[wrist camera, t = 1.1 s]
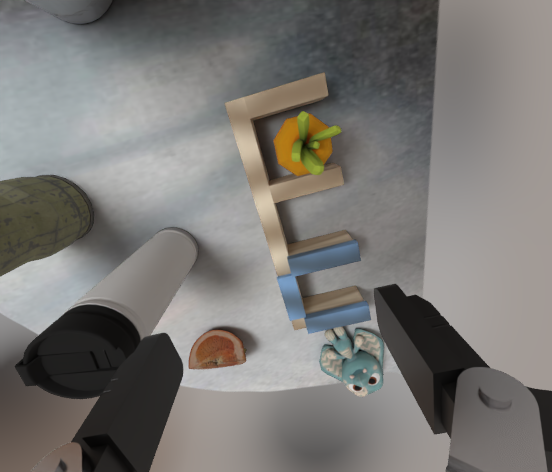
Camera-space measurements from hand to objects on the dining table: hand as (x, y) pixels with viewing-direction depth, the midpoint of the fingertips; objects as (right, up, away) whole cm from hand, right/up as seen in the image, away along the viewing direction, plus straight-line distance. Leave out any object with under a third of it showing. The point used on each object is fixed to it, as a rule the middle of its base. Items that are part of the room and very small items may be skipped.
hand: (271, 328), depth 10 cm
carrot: (+2, +15, +21) cm, 26 cm away
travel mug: (-14, +2, +26) cm, 29 cm away
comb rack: (+5, +6, +24) cm, 25 cm away
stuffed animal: (+12, -15, +33) cm, 38 cm away
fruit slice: (-8, -13, +32) cm, 36 cm away
